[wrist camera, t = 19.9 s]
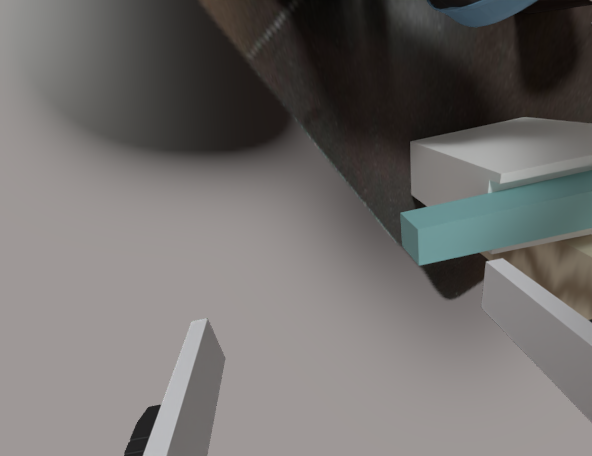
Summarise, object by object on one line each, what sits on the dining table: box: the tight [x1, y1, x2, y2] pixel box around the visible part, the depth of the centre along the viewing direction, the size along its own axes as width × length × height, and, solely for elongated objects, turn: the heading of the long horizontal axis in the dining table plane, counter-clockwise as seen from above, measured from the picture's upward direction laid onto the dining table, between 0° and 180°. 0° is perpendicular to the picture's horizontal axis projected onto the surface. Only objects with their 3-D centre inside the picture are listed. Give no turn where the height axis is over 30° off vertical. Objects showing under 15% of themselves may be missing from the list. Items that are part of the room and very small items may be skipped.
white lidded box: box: [410, 117, 592, 254], centre depth 38 cm, size 9×18×20 cm, turn 101°
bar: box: [400, 170, 592, 266], centre depth 28 cm, size 4×30×4 cm, turn 102°
